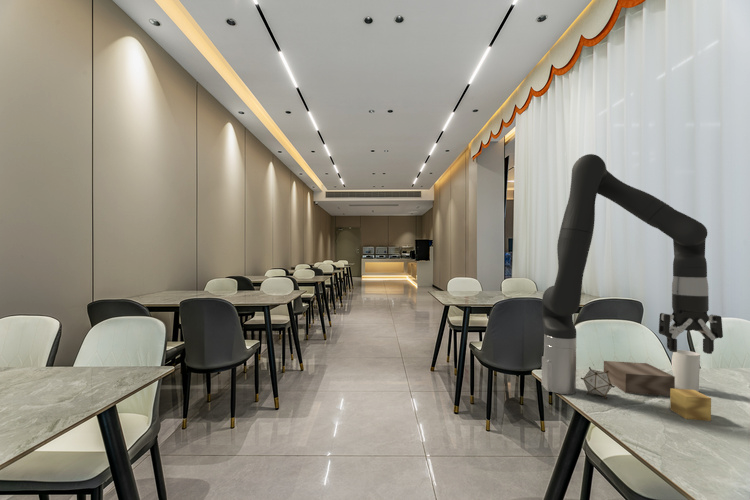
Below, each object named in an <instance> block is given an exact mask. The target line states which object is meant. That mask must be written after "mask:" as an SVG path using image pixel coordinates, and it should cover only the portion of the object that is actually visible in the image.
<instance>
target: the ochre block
mask: <svg viewBox="0 0 750 500" xmlns="http://www.w3.org/2000/svg"><path fill="white" fill-rule="evenodd" d="M669 397H670V398H669V402H670V405H669V407H670V409H669V410H671V411H672V412H674V413H675V414H677V415H679V416H680V417H681V418H684V419H685V420H695V421H708V422H711V421H712V398H711V397H710V396H708V395H705V394H703V393H701V392H700V391H699V392H697V391H695V390H689V389H676V388H675V389H673V388H670V396H669Z"/></svg>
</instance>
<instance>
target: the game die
mask: <svg viewBox="0 0 750 500" xmlns="http://www.w3.org/2000/svg"><path fill="white" fill-rule="evenodd" d="M608 372H609V370H608V371H606V372H604V371H601V370H595V369H593V368H591V366H588V372H587V373H586V374H585V376H584V377H580V380H583V383H584V385H585V388H586V390H587V392H586V395H589V394H593V395H598V396H602V397H604V399H606V400H607V399H608V398H607V395H608V393H609V392H610V390H611V389H612V388H615V387H616V386H615V385H613V384H612V383H611V382H610V379H609V377H608V374H607V373H608Z"/></svg>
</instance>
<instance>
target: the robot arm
mask: <svg viewBox="0 0 750 500" xmlns="http://www.w3.org/2000/svg"><path fill="white" fill-rule="evenodd" d="M570 177H571V180H570V191H569V197H568V200H567V204H566V207H565V211H564V214H563V219H562V220H561V221H562V222H561V225H560V230H559V234H558V237H557V238H558V239H557V246H556V247H557V248H556V250H557V251H556V253H557V264H558V265H557V266H558V268H557V275H556V278H555V281H554V285H552V286H549V287H547V288H546V289H545V290H544V292H543V294H542V300H541V306H542V307H541V312H542V313H541V316H542V319H541V320H542V325H543V332H544V333H543V335H544V336H543V356H541V386H543V388H544V389H545V390H546V391H547V392H550V393H551V392H552V393H554V394H555V393H556V394H560V395H574V394H576V392H577V328H576V327H575V326H576V325H575V323H574V320H573V318H574V317H573V315H574V314H575V313H577V312H578V310H579V309H580V306H581V300H582V290H583V289H582V287H583V280H584V279H583V278H584V272H585V269H586V264H587V261H588V257H589V254H590V253H589V251H590V248H591V245H592V240H593V235H594V228H595V221H596V220H595V217H596V199H597V196H598V195H600V196H602V197H604V198H606V199H607V200H610V201H611V202H613V203H614V204H616V205H618V206H620V207H621V208H623V209H624V210H626V211H627V212H629V213H630V214H632V215H633V216H634V217H635V218H638V219H639V220H641V221H642V222H644V223H646V225H649V226H651V227H652V228H655V229H657V230H659V231H660V232H662V234H663V233H664V235H666V236H667V237H669V238H671V239H672V244H673V255H674V257H673V263H672V282H671V308H672V314H671V313H670V314H668V313H664V312H661V313H659V322H658V323H659V324H658V333H659V335H661V336H665V337H666V347H667V349H668V350H669V352H672V353H673V352H677V350H678V339H677V337H678V336H679V335H680V334H682V333H683V332H684V331H689V332H690V331H695V332H699V333H700V334H701V335H702V337H703V338H702V352H703V353H705V354H707V355H712V354H713V353H714V350H715V347H714V346H715V345H714V344H715V340H717V339H722V338H723V337H724V332H723V319H722V317H721V316H720V315H718V314H717V315H716V314H710V315H709V314H708V311H710V309H709V306H710V304H709V301H710V300H709V283H708V263H707V259H706V239H707V237H708V228H707V227H706V226H705V225H704V224H703V223H702V222H700V221H698V220H697V219H694V218H693V217H691V216H689V215H688V214H686V213H682V212H681V211H678V210H677V209H675V208H673V207H672V206H671V205H669V204H668V203H666V202H664V201H663V200H661V199H660V198H657V197H656V196H654V195H652V194H650V193H648V192H646V191H644V190H641V189H639V188H636V187H634V186H631V185H628V184H627V183H625V182H623V181H622V180H620V179H618V178H617V177H616V176H614V175H613V174H612V173H611V172H610V171H608V170H607V165H606V163H605V161H604V159H603V158H602V157H600V156H599V155H597V154H593V153H589V154H585V155H583V156H581V157H579V158H578V159H577V160H576V161H575V162H574V164H573V165H572V169H571V176H570ZM672 321H673V323H672V324H671V322H672ZM707 323H709V327H708V326H707ZM552 390H553V391H552Z"/></svg>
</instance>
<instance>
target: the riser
mask: <svg viewBox="0 0 750 500" xmlns="http://www.w3.org/2000/svg"><path fill="white" fill-rule="evenodd" d="M608 370H609V372H608V373H607V374H608V377H609V379H610V382H611V384H612V386H615V387H617V388H618V389H620V390H621V391H623V392H624V393H625V394H636V393H638V394H637V395H639V394H641V395H651V396H652V395H653V396H668V397H670V388H673V389H676V388H675V377H674V376H673V374H670V373H668V372H666V371H664V370H662V369H660V368H658V367H655V366H654V365H652V364H649V363H647V362H645V363H644V362H634V361H633V362H630V361H628V362H627V361H616V360H615V361H611V360H610V361H609V360H603V372H606V371H608Z"/></svg>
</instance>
